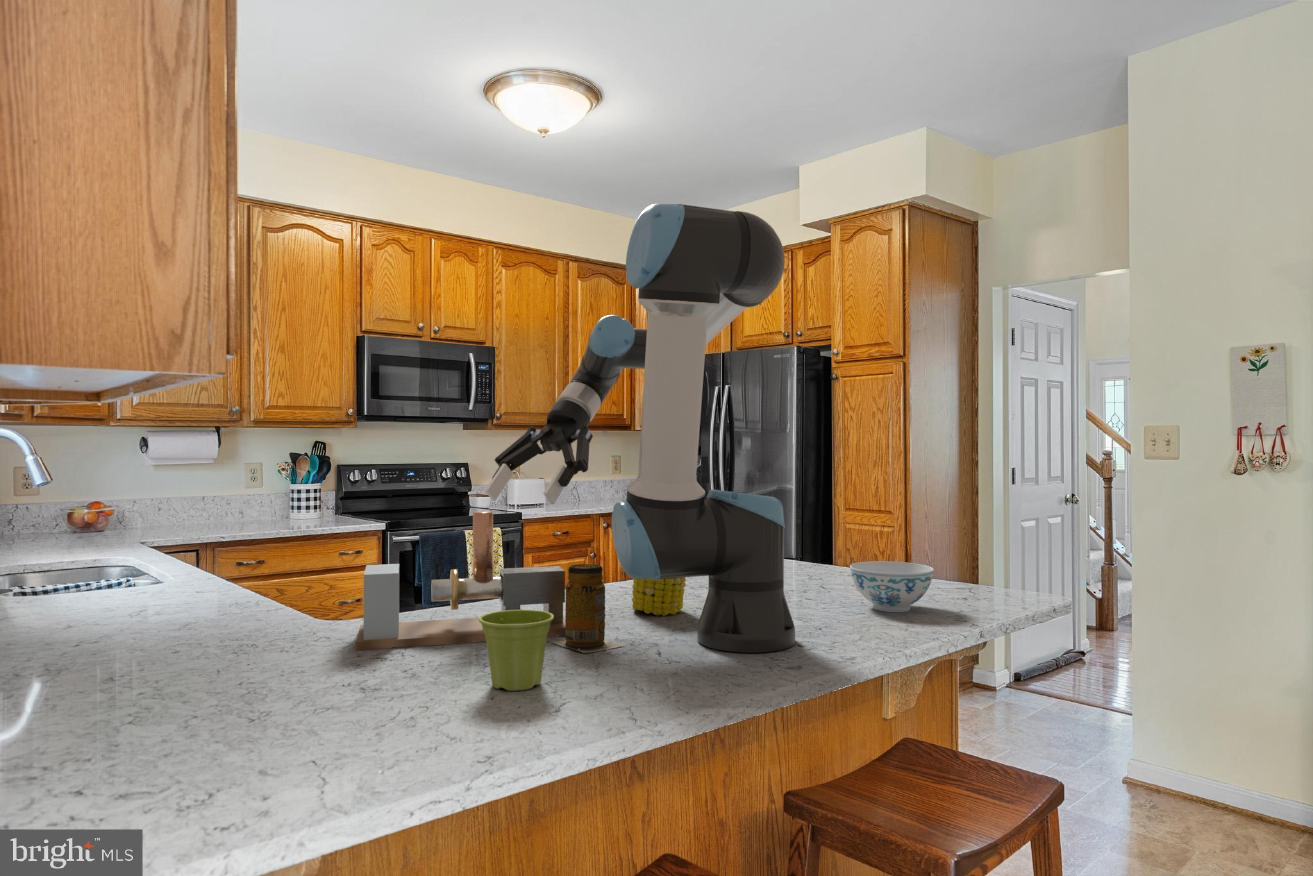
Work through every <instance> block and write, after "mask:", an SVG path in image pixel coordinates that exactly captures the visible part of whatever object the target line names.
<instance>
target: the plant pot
mask: <svg viewBox="0 0 1313 876" xmlns="http://www.w3.org/2000/svg"><path fill="white" fill-rule="evenodd" d="M478 618H479V622H480V623H481V624H482V628H483V633H484V634H485V637H486V641H485V642H486V649H487V656H488V662H489V671H490V676H491V677H490V678H491V684H492V687H493V688H494V689H504V690H506V691H511V692H516V691H527V690H529V689H532V688H534V687H535V685H536V686H539V685H540V684H541V682H542V676H543V675H542V674H543V667H544V662H545V661H544V659H545V653H546V646H547V645H546V644H547V638H548V637H547V632H548V631H549V628H550V622H551V621H552V620H553V619H554V615H553V614H551V613H549V612H545V611H543V610H538V609H537V610H535V609H520V610H506V611H502V610H500V611H499V610H498V611H493V612H489V613H485V614H482V615H481V616H479V617H478Z"/></svg>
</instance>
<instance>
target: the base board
mask: <svg viewBox="0 0 1313 876" xmlns="http://www.w3.org/2000/svg"><path fill="white" fill-rule="evenodd" d="M564 636H565V618H564V617H563V623H560V624H550V628H549V631H548V632H547V638H549V637H564ZM356 637H357V638H356V641H355V651H365V650H380V649H382V650H383V649H393V648H392V647H397V648H407V647H409V648H410V647H421V646H422V647H423V646H436V645H437V646H438V645H451V644H452V645H453V644H465V643H479V642H486V637H485V634H484V633H483V628H482V624H481V623H480V622H479V617H467V618H465V617H464V618H450V619H449V618H448V619H435V620H433V619H432V620H419V621H416V620H415V621H402V622H401V621H399V638H389V639H374V640H363V639H364V624H360V625H359V630H358V633H357V636H356Z"/></svg>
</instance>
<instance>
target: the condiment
mask: <svg viewBox="0 0 1313 876" xmlns="http://www.w3.org/2000/svg"><path fill="white" fill-rule="evenodd" d="M567 570H568V572H567V573H568V575H567V580H568V582H567V584H565V618H564V619H565V639H564V640H558V641H553V642H552V643H553V644H556V645H557V646H560V647H563V648H566V649H571V650H573V651H576V652H581V653H583V654H584V653H585V654H586V653H587V654H589V653H593V652H594V653H595V652H602V651H608V650H611V649H617V648H620V647H623V645H622V644H618V643H617V642H612V641H609V640H605V636H606V635H605V634H606V632H605V631H606V586H605V584H604V581H603V579H604V577H603V570H604V569H603V567H602V566H601V565H600V564H594V563H591V564H590V563H580V564H572V565H570V566H569V567H568V569H567Z"/></svg>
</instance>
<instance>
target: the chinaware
mask: <svg viewBox="0 0 1313 876" xmlns="http://www.w3.org/2000/svg"><path fill="white" fill-rule="evenodd" d="M849 568H850V573H851V577H852V580H853V583H854V586H855V587H856V588H857V590H858V592H859V593H860V594H861V595H862V596H863V597H864V598H865V599H866V600H867V601H869V602H870V603H872V608H873V610H876V611H879V612H888V613H905V612H909V611H911V605H914V604H915V603H917V602H918V601H919V600H921V598H923V597H924V596H925V594H926V593H927V591H928V590H929V587H930V585H931V583H932V581H933V580H932V579H933V577H934V573H935V569H934V568H933V567H931V566H930V565H926V564H922V563H921V564H919V563H914V562H904V561H888V560H887V561H885V560H884V561H883V560H880V561H879V560H878V561H877V560H876V561H873V560H872V561H861V562H860V561H859V562H855V563H854V562H853V563H851V564H850V566H849Z"/></svg>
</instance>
